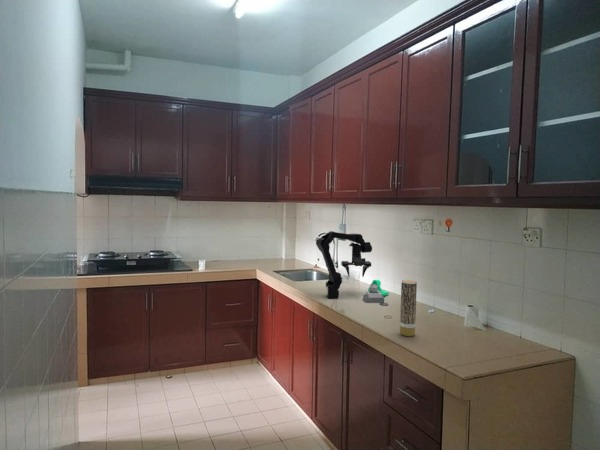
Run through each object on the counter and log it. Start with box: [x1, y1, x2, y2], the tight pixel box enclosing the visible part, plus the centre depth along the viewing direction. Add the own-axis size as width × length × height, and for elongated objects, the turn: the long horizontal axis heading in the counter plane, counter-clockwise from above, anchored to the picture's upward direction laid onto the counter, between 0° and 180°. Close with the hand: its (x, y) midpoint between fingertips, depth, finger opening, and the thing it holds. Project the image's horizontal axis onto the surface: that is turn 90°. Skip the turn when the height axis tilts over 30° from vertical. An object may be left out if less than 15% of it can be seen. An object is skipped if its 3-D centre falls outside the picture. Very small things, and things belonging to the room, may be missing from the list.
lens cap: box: [379, 302, 389, 307], centre depth 240 cm, size 5×5×1 cm
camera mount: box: [367, 279, 390, 297], centre depth 265 cm, size 12×8×10 cm, turn 36°
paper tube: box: [399, 279, 418, 337], centre depth 187 cm, size 7×7×25 cm
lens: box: [369, 283, 378, 293], centre depth 248 cm, size 5×5×7 cm
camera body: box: [362, 290, 385, 304], centre depth 248 cm, size 11×8×6 cm
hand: (355, 276), depth 262 cm, fingers open, 9 cm apart
